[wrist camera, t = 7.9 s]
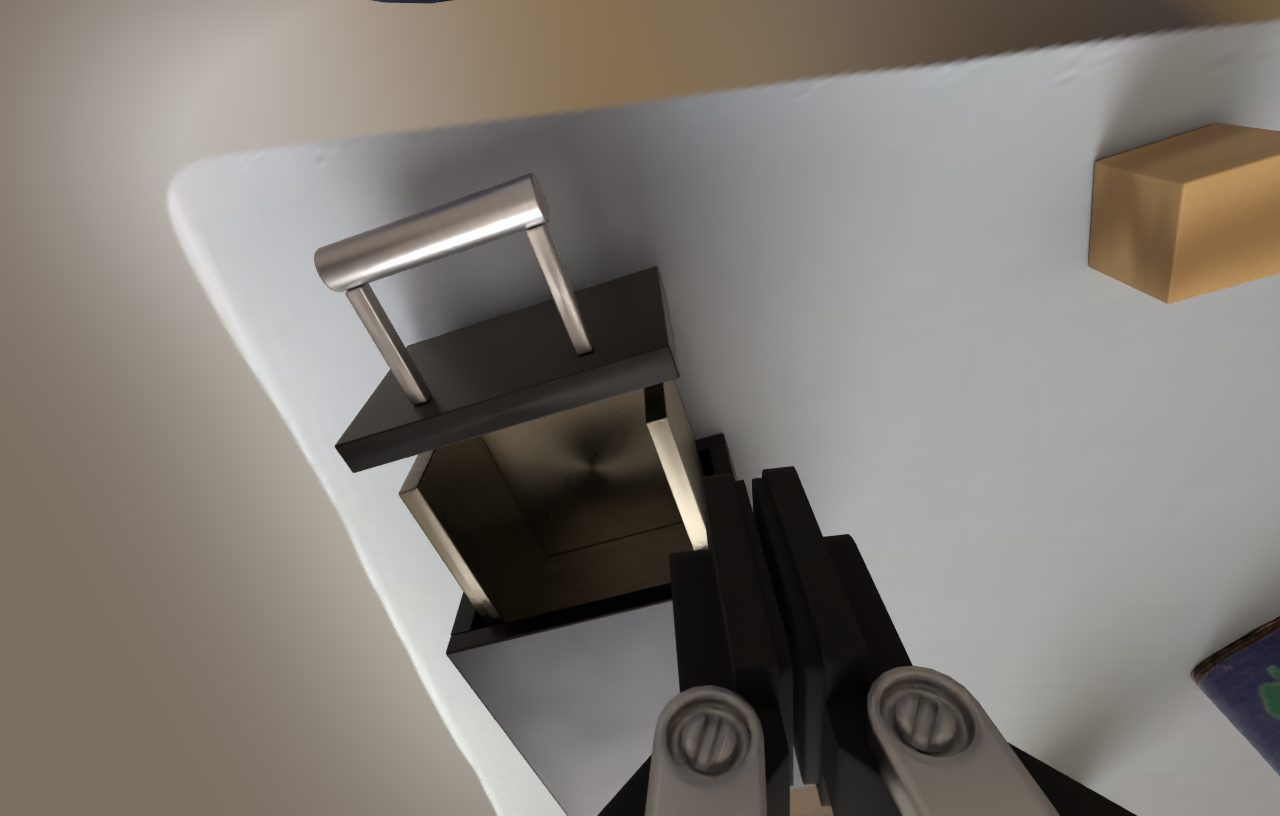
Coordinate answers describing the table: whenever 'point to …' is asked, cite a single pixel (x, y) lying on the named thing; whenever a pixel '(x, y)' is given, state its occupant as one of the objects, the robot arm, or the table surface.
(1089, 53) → the table surface
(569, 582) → the drawer
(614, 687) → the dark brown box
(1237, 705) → the flask
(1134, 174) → the block
